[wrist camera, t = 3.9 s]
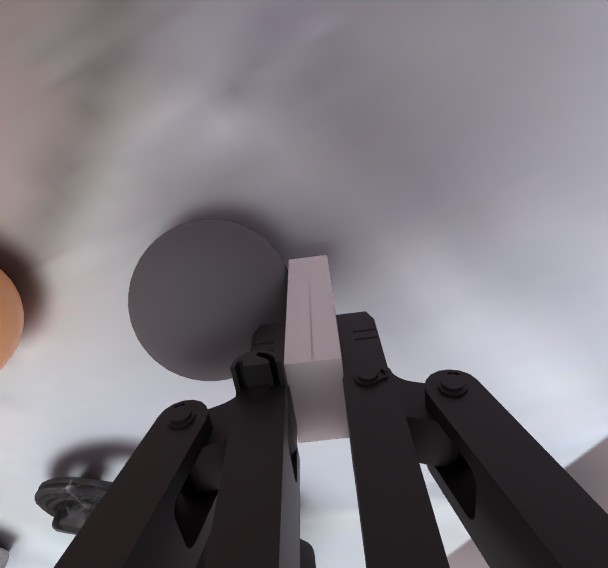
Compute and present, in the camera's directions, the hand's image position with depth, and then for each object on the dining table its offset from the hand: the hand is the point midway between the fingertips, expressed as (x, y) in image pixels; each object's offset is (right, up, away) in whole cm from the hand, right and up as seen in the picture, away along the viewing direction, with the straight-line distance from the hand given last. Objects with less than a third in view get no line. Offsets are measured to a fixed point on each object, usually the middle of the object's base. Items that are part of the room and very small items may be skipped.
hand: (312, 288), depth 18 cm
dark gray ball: (-4, 0, -1) cm, 4 cm away
